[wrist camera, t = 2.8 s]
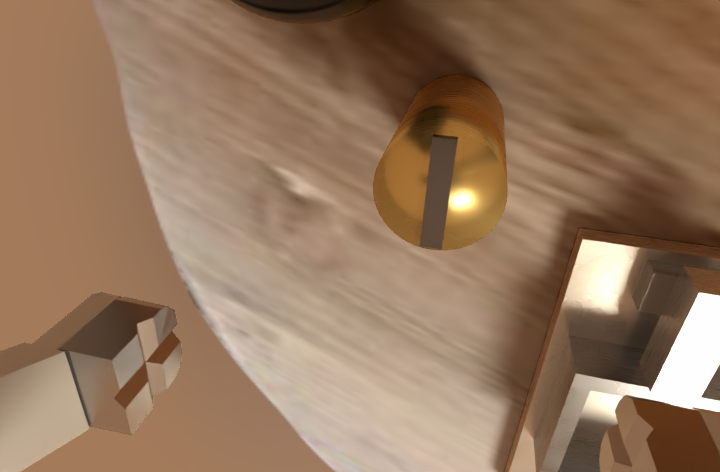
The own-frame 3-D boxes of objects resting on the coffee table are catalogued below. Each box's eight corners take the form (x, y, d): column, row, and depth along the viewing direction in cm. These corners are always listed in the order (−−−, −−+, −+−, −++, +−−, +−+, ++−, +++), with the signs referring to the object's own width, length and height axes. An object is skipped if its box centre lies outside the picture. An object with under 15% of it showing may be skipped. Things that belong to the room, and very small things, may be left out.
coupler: (411, 70, 20) (375, 123, 14) (512, 79, 19) (520, 139, 13) (403, 162, 22) (368, 243, 16) (494, 174, 21) (494, 263, 15)
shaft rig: (579, 228, 22) (593, 276, 18) (812, 260, 20) (872, 319, 17) (502, 476, 31) (503, 538, 28) (657, 513, 29) (678, 582, 26)
